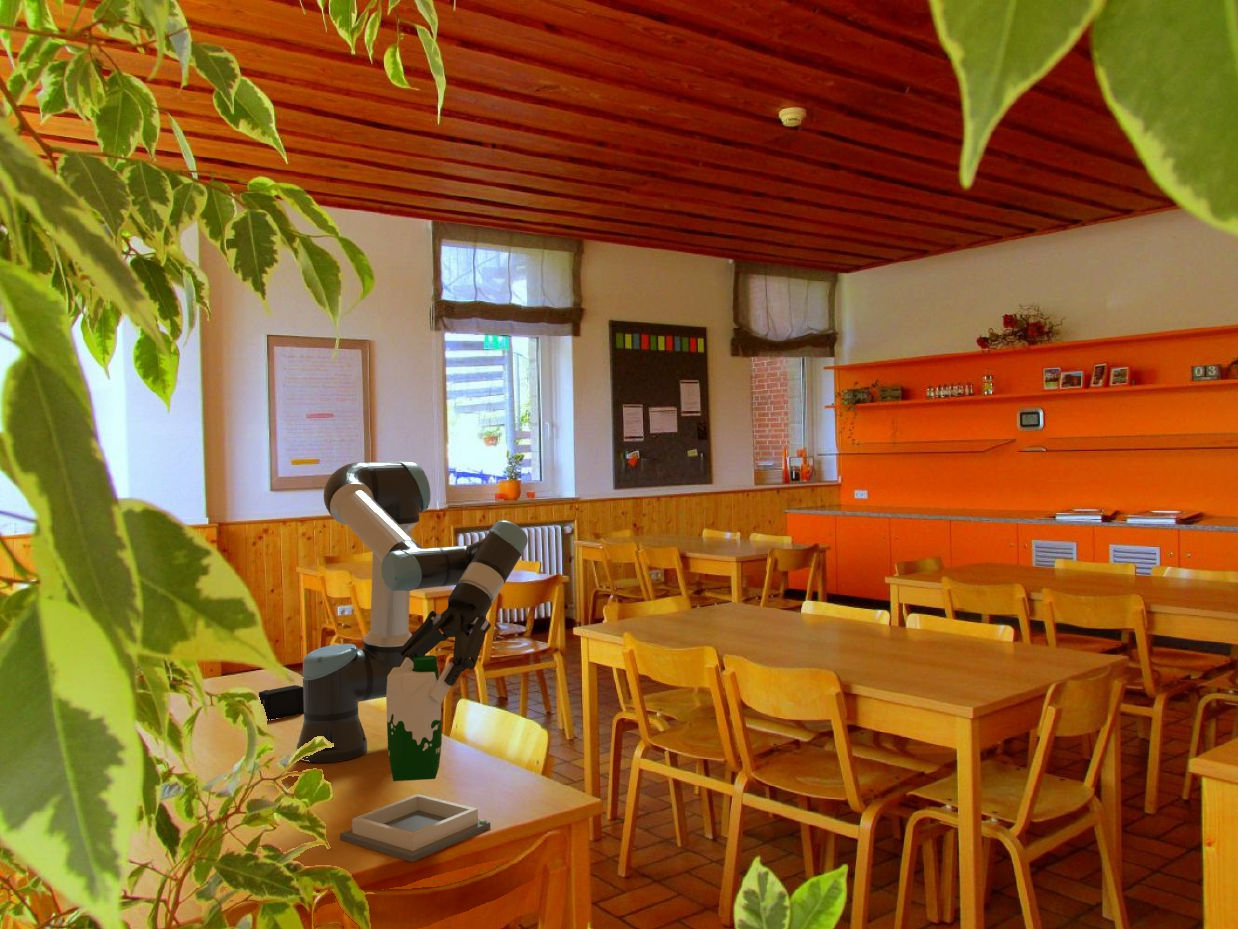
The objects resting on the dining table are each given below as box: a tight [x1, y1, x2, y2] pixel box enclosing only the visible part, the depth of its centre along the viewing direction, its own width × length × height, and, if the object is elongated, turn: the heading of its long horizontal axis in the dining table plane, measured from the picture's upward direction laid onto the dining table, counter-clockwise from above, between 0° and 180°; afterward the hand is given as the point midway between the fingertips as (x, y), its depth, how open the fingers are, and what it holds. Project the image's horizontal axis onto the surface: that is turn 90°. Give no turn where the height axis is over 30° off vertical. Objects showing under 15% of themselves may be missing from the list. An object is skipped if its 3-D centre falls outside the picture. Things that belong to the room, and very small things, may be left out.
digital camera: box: [258, 684, 304, 722], centre depth 263 cm, size 10×5×7 cm, turn 137°
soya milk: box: [385, 654, 443, 782], centre depth 176 cm, size 9×9×20 cm
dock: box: [339, 793, 491, 863], centre depth 176 cm, size 18×18×4 cm
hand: (413, 696), depth 176 cm, fingers closed on soya milk, 10 cm apart
